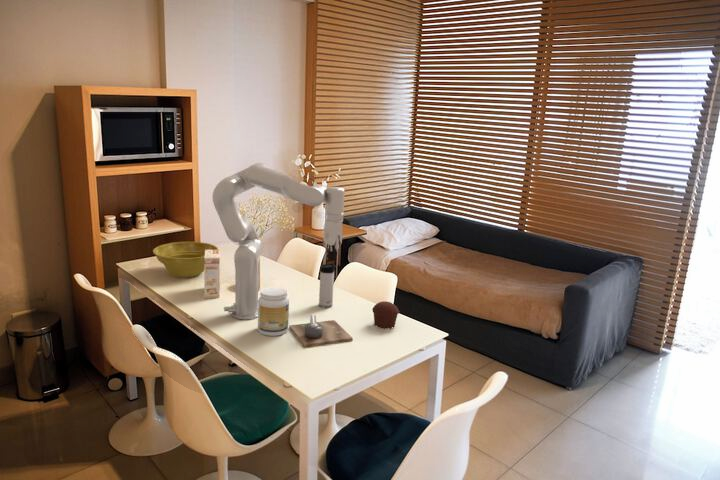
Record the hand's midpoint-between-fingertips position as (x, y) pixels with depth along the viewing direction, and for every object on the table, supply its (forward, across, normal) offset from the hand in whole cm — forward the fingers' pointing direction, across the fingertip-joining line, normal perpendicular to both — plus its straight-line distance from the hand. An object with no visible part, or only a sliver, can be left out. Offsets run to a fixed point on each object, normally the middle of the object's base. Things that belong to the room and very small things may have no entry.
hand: (331, 259), depth 221 cm
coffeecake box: (+27, -47, -41) cm, 68 cm away
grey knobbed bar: (+25, +11, -11) cm, 30 cm away
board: (+27, +13, -9) cm, 31 cm away
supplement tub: (+27, +4, -26) cm, 38 cm away
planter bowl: (+27, -79, -48) cm, 97 cm away
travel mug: (+27, -16, +5) cm, 32 cm away
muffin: (+27, +12, +21) cm, 37 cm away
